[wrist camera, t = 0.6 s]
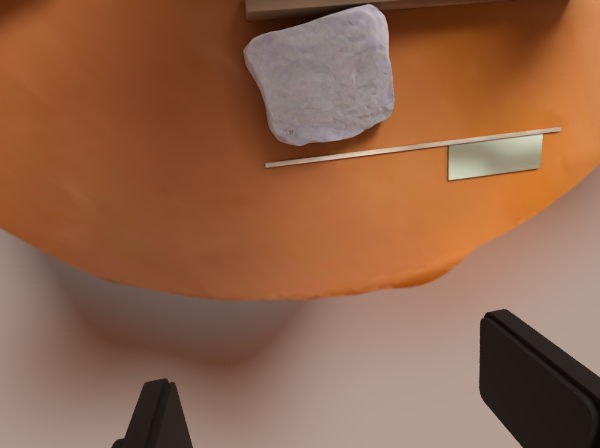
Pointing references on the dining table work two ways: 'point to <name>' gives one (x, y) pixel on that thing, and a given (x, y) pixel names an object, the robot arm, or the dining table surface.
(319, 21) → the stone block
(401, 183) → the dining table surface
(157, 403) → the robot arm
